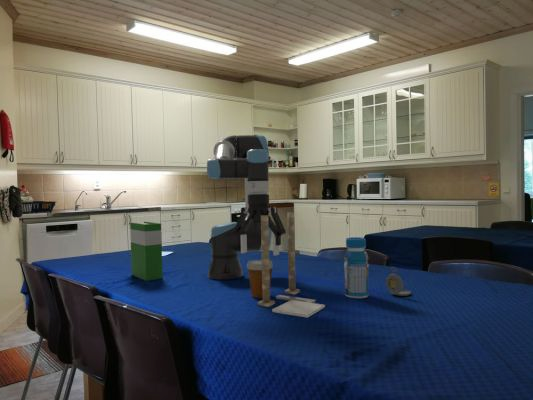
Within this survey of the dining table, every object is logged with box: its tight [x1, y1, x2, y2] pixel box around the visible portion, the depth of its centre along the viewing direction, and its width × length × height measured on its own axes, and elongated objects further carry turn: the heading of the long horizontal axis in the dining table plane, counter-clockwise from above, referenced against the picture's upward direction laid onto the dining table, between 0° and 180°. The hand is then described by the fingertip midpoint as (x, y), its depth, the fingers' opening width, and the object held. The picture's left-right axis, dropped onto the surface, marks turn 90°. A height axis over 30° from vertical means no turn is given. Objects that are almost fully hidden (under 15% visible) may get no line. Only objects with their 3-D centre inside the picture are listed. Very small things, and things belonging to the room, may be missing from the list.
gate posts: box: [257, 211, 301, 308], centre depth 141 cm, size 4×22×29 cm, turn 148°
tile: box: [271, 300, 326, 318], centre depth 127 cm, size 12×12×1 cm
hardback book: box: [129, 221, 164, 282], centre depth 184 cm, size 18×7×24 cm, turn 38°
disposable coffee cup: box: [246, 259, 274, 299], centre depth 146 cm, size 10×10×12 cm
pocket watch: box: [385, 266, 412, 297], centre depth 143 cm, size 8×8×10 cm
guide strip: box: [275, 294, 317, 303], centre depth 137 cm, size 14×4×1 cm, turn 58°
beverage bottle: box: [343, 236, 370, 299], centre depth 142 cm, size 8×8×20 cm
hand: (259, 253), depth 145 cm, fingers open, 13 cm apart
